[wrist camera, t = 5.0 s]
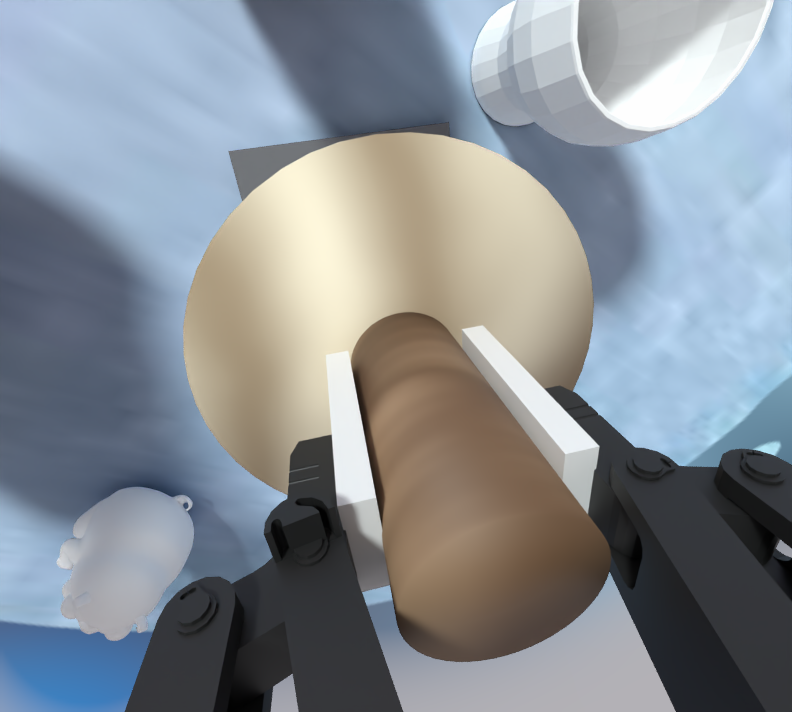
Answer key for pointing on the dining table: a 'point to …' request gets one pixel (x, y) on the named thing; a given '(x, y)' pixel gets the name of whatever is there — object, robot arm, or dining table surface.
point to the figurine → (124, 559)
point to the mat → (296, 155)
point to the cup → (611, 63)
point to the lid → (411, 370)
